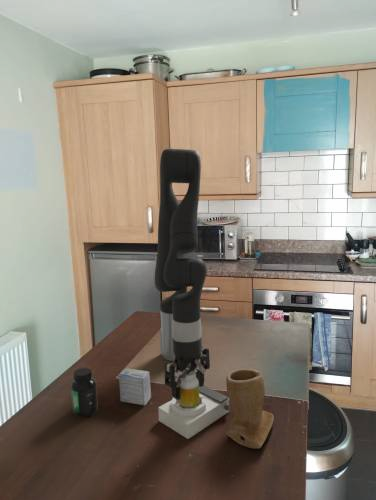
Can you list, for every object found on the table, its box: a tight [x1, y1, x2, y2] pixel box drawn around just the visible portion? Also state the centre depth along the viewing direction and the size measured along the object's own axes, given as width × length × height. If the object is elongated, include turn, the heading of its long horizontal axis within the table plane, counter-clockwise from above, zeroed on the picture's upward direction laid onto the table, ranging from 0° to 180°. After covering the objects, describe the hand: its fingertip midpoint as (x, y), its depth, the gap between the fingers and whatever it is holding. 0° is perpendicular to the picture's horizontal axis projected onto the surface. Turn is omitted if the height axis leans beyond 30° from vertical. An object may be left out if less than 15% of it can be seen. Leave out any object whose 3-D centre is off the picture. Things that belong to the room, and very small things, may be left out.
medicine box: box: [118, 367, 152, 406], centre depth 123 cm, size 8×4×9 cm, turn 71°
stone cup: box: [225, 368, 275, 450], centre depth 107 cm, size 15×12×15 cm
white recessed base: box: [157, 385, 231, 440], centre depth 114 cm, size 16×12×6 cm
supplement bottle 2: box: [179, 370, 199, 408], centre depth 112 cm, size 5×5×10 cm
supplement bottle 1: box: [70, 367, 99, 418], centre depth 118 cm, size 7×7×12 cm
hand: (188, 392), depth 112 cm, fingers open, 8 cm apart
